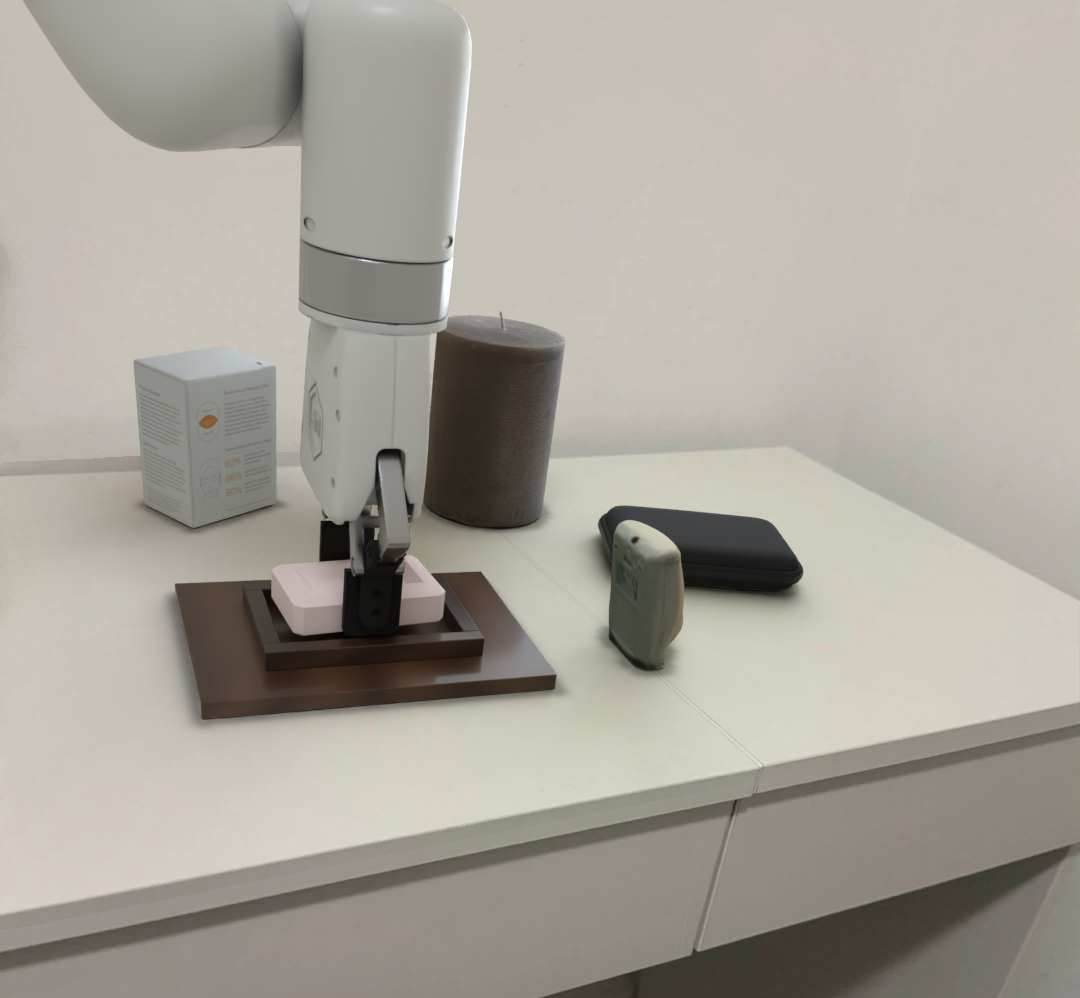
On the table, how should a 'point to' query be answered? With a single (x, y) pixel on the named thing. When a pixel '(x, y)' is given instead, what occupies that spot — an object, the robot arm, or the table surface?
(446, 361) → the pillar candle
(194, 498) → the small box
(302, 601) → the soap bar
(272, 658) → the backing plate
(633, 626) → the grey-green rounded block
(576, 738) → the table surface
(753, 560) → the carrying case
